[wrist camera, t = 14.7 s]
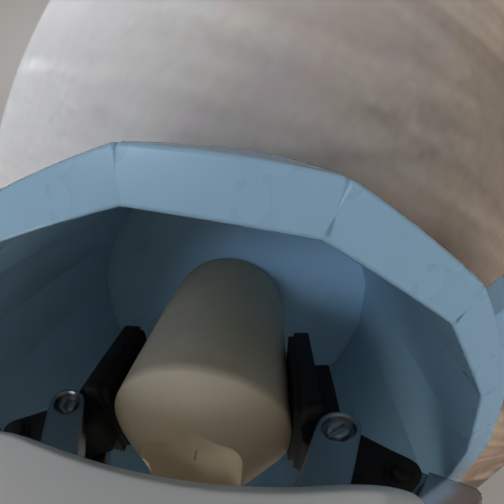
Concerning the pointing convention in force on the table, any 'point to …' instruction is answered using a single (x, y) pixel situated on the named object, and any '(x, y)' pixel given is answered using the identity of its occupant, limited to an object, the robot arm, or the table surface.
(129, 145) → the pot
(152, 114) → the table surface
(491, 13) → the table surface
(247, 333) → the candle
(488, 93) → the table surface
